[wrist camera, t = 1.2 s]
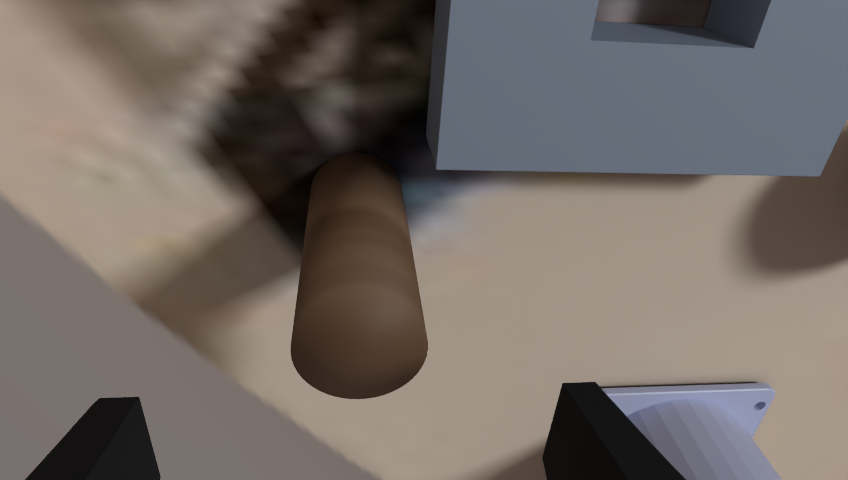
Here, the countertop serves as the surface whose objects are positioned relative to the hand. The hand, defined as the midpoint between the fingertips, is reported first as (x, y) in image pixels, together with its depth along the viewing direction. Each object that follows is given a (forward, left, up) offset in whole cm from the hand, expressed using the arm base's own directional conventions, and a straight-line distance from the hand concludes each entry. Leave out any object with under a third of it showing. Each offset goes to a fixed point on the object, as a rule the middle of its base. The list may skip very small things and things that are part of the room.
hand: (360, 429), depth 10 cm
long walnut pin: (0, 0, -9) cm, 9 cm away
